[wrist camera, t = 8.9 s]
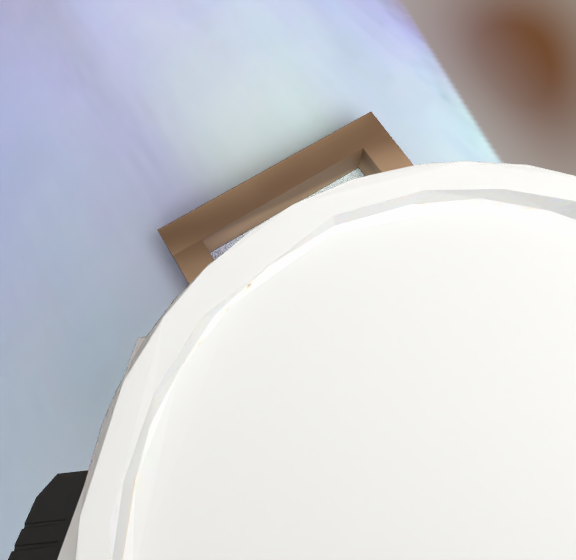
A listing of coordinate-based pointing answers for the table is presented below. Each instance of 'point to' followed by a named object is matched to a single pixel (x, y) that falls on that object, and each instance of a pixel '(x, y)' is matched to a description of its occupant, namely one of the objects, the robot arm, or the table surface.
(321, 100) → the table surface
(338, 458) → the disposable coffee cup
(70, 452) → the table surface
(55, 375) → the table surface
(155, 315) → the table surface
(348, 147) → the pocket frame
